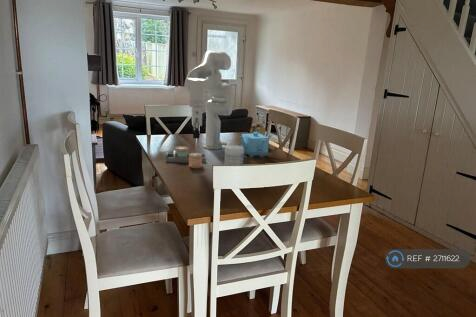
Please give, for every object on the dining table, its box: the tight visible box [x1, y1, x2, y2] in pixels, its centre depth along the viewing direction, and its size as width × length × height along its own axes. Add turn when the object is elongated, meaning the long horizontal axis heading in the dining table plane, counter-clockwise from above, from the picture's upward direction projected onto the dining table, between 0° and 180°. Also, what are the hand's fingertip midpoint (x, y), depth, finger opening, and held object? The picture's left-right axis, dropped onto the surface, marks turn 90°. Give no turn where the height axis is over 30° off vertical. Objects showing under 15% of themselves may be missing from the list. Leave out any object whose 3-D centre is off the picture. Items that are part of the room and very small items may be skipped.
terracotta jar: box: [188, 152, 203, 169], centre depth 192 cm, size 7×7×7 cm
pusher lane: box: [165, 151, 206, 164], centre depth 203 cm, size 22×9×4 cm, turn 99°
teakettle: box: [237, 132, 273, 159], centre depth 221 cm, size 19×19×15 cm
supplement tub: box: [224, 144, 245, 166], centre depth 181 cm, size 10×10×15 cm
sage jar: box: [174, 146, 189, 158], centre depth 202 cm, size 7×7×7 cm
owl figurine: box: [248, 121, 266, 136], centre depth 246 cm, size 18×12×17 cm, turn 24°
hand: (195, 136), depth 188 cm, fingers open, 9 cm apart
